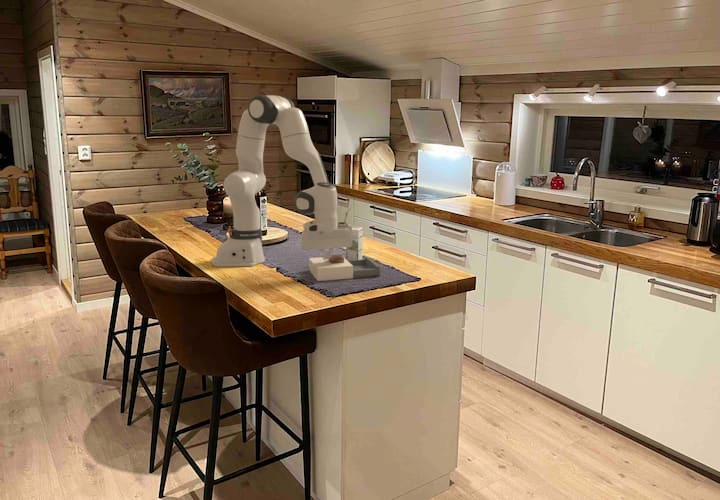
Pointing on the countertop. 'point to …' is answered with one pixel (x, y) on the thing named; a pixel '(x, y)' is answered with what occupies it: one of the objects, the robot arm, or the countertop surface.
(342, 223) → the mate gourd
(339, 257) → the walnut tile
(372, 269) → the charcoal box
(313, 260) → the cream square block
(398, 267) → the countertop surface
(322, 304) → the countertop surface
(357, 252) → the syrup box
